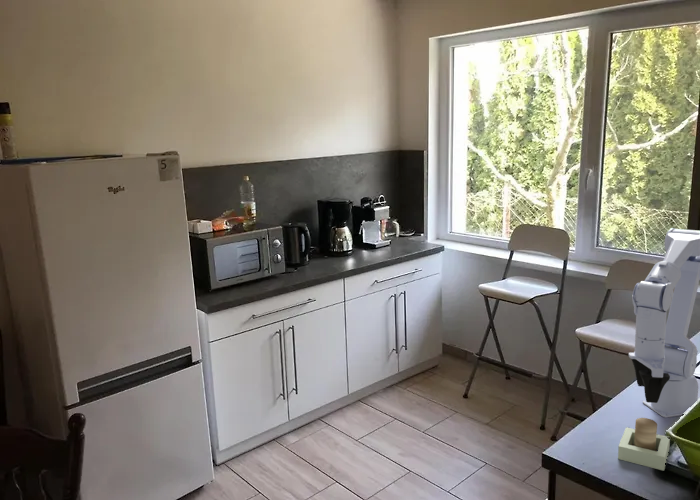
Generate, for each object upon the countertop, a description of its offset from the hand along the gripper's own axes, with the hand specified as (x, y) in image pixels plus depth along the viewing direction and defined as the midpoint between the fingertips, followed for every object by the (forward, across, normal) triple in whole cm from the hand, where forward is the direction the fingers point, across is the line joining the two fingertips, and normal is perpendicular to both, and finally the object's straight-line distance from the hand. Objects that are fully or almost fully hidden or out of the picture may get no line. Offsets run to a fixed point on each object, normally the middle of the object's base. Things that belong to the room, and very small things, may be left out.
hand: (647, 393), depth 126 cm
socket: (+9, +9, -2) cm, 13 cm away
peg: (+9, +9, -2) cm, 13 cm away
